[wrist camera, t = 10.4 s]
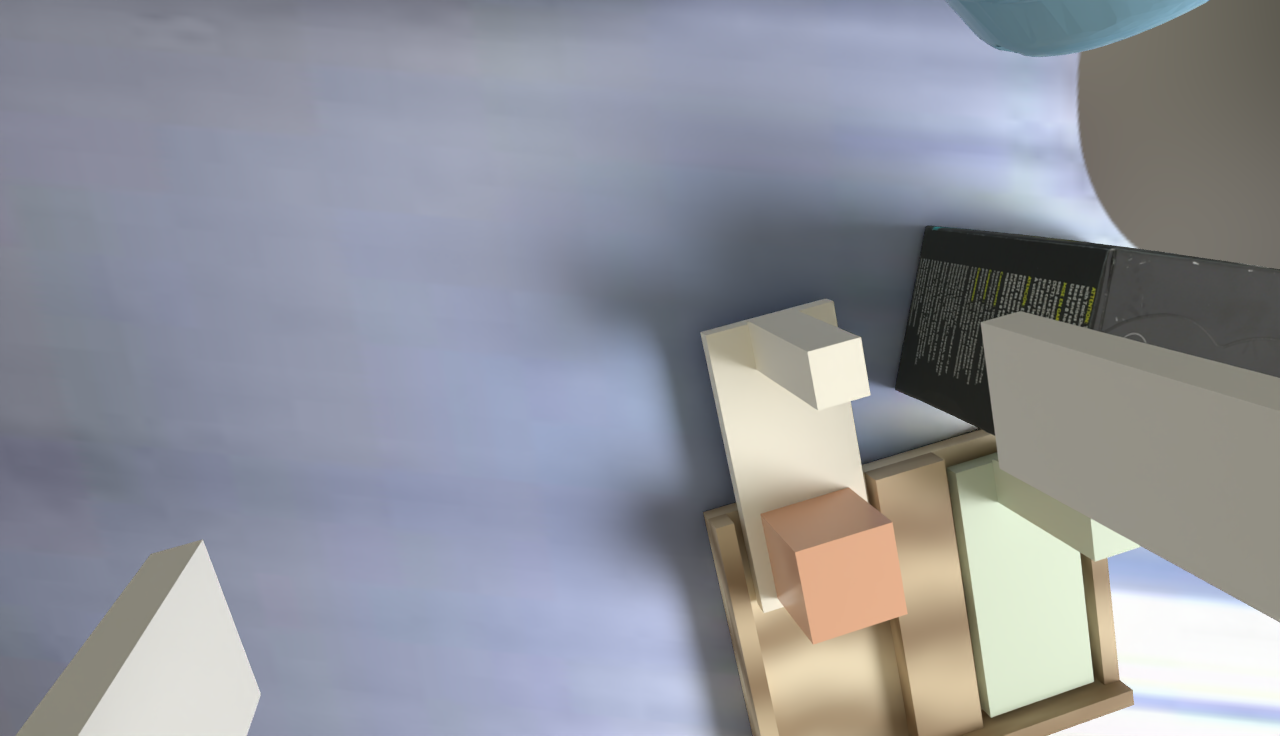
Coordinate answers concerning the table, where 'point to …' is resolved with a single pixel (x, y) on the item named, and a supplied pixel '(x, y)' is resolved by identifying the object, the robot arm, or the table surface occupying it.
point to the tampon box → (1074, 307)
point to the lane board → (899, 629)
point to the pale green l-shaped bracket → (1024, 584)
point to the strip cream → (786, 416)
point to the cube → (834, 564)
